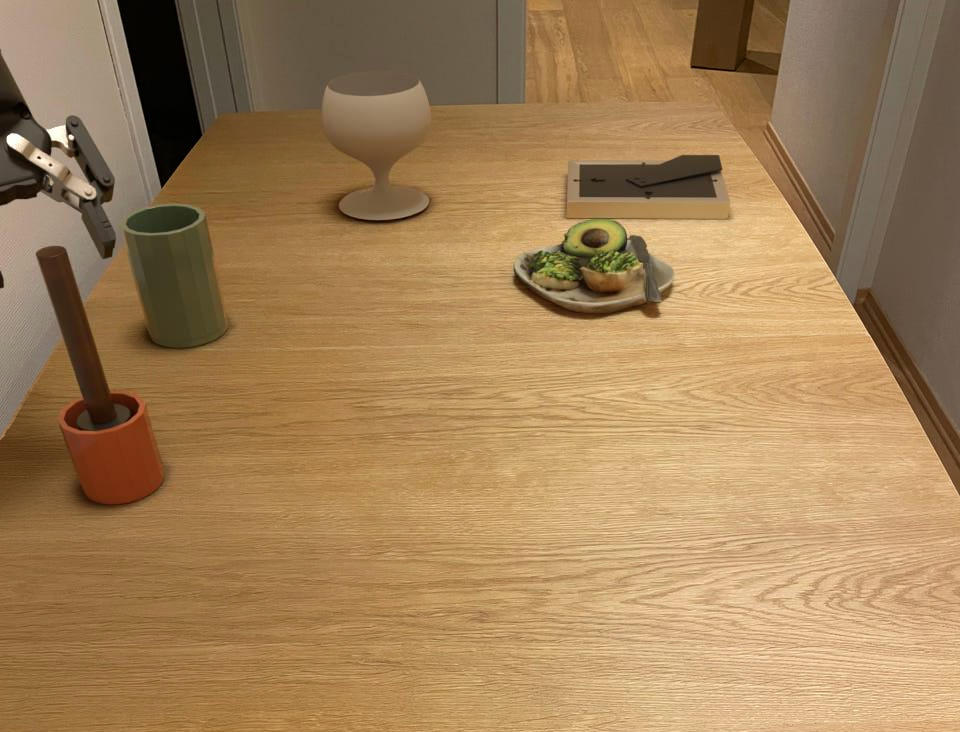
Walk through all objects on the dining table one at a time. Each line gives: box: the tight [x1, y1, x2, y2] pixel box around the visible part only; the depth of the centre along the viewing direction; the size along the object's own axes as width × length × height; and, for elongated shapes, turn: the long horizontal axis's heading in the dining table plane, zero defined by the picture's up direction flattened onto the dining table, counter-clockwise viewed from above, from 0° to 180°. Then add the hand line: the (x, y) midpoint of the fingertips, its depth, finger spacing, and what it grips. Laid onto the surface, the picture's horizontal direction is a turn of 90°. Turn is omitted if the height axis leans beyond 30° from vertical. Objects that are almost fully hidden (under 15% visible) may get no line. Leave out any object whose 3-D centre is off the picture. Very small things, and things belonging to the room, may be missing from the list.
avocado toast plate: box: [512, 218, 676, 315], centre depth 114 cm, size 19×18×5 cm
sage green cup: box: [119, 203, 229, 349], centre depth 106 cm, size 8×8×12 cm
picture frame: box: [565, 154, 731, 220], centre depth 135 cm, size 16×3×21 cm
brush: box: [35, 245, 132, 431], centre depth 82 cm, size 4×4×20 cm
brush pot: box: [57, 389, 165, 505], centre depth 87 cm, size 7×7×7 cm
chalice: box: [321, 69, 432, 221], centre depth 131 cm, size 14×14×15 cm
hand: (54, 268), depth 77 cm, fingers open, 8 cm apart
